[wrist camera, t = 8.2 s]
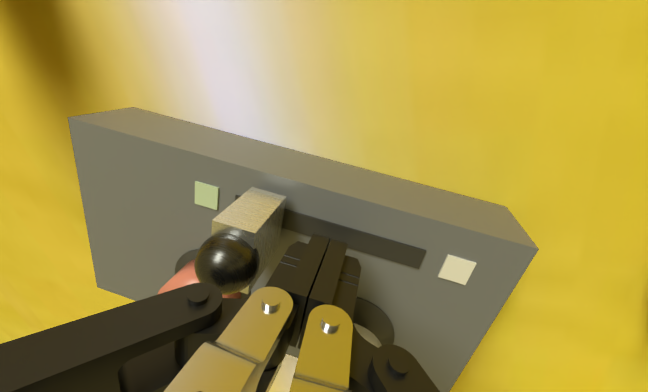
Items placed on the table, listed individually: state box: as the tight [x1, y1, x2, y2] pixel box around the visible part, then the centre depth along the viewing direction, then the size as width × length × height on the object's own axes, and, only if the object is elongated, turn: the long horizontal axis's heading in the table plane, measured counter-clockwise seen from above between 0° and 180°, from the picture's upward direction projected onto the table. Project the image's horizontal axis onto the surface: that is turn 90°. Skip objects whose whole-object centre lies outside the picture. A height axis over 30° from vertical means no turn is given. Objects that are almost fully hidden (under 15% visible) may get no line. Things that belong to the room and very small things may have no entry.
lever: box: [194, 187, 286, 295], centre depth 12 cm, size 2×3×4 cm
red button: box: [157, 259, 241, 299], centre depth 16 cm, size 4×4×2 cm
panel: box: [68, 107, 538, 392], centre depth 17 cm, size 22×11×4 cm, turn 78°
